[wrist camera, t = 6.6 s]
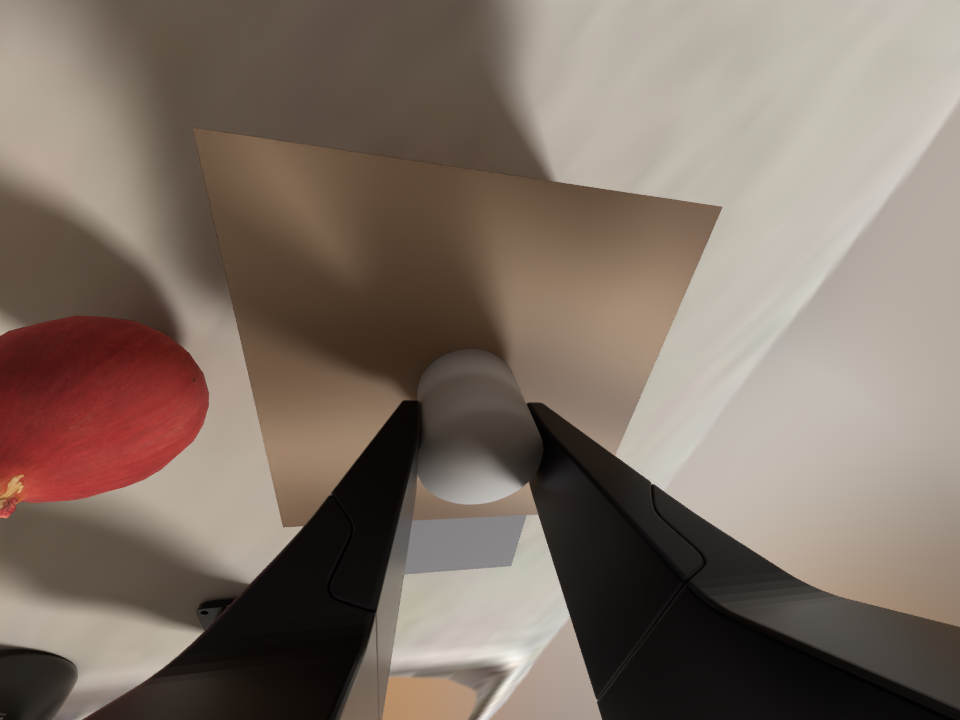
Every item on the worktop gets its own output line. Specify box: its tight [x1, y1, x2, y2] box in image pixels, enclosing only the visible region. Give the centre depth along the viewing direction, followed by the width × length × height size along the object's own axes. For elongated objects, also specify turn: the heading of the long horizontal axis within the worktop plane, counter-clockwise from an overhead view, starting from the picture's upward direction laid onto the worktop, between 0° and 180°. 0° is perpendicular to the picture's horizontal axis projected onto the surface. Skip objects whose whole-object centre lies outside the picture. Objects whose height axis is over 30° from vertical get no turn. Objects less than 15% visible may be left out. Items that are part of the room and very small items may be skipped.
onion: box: [0, 316, 209, 518], centre depth 11 cm, size 6×6×8 cm
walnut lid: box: [193, 128, 722, 527], centre depth 9 cm, size 11×11×4 cm
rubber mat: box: [404, 515, 526, 574], centre depth 22 cm, size 13×13×1 cm
